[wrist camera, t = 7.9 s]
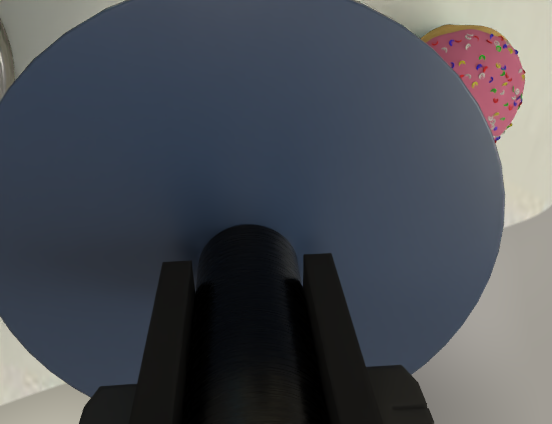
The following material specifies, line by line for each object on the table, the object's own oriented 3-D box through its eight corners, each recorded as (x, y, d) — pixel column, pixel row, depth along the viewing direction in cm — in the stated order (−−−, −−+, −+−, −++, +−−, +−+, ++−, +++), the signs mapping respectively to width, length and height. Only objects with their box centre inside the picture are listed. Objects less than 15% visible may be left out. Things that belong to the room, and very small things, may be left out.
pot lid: (55, 420, 19) (-66, 759, 11) (-104, -20, 11) (-852, 97, 4) (444, 391, 20) (579, 687, 12) (545, -31, 12) (1093, 41, 5)
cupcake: (448, 149, 37) (531, 233, 27) (348, 113, 35) (396, 189, 25) (512, 39, 34) (637, 88, 23) (404, -8, 32) (488, 22, 21)
